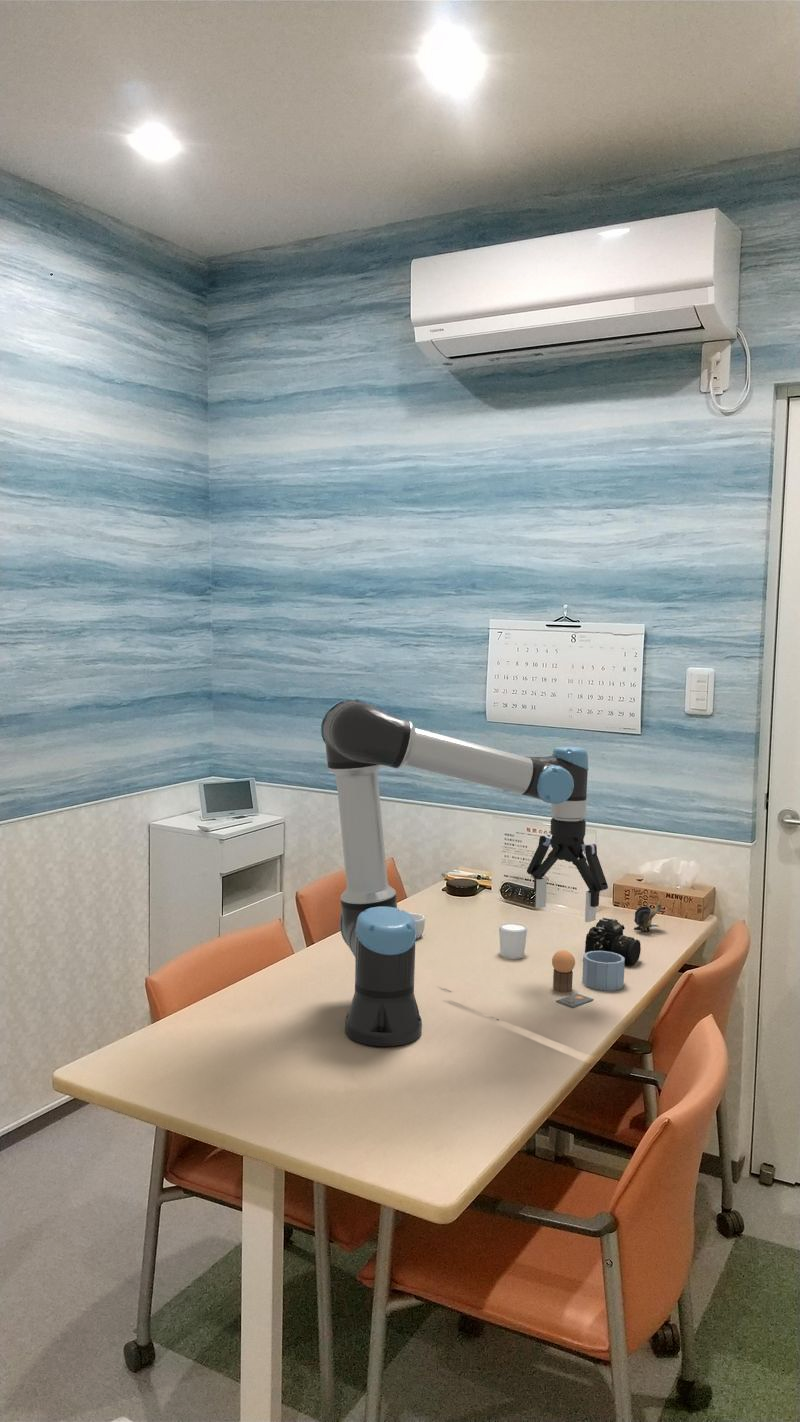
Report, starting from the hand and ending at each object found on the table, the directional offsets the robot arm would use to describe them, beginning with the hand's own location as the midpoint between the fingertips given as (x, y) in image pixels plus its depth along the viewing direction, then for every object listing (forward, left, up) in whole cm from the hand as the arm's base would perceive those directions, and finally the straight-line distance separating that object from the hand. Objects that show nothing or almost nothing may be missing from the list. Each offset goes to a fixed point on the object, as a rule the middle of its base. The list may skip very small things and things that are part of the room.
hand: (564, 914), depth 216 cm
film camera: (+25, +4, -17) cm, 30 cm away
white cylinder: (+9, +22, -17) cm, 29 cm away
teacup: (-2, +48, -17) cm, 51 cm away
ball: (0, 0, -11) cm, 11 cm away
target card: (-4, -7, -17) cm, 18 cm away
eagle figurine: (+49, +11, -17) cm, 53 cm away
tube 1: (0, 0, -17) cm, 17 cm away
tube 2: (+10, -4, -17) cm, 20 cm away
